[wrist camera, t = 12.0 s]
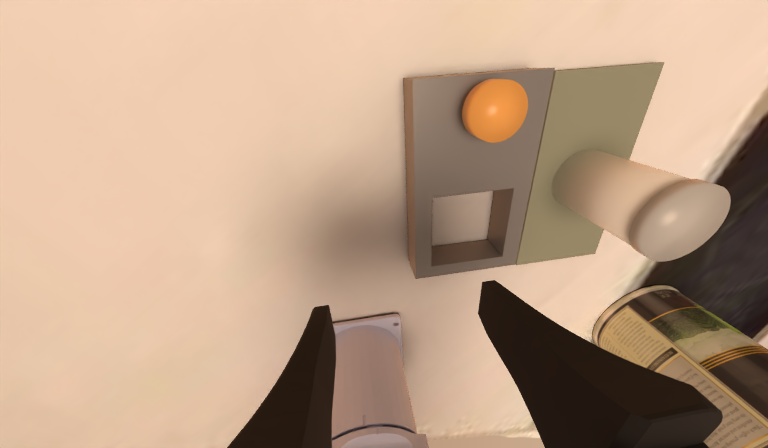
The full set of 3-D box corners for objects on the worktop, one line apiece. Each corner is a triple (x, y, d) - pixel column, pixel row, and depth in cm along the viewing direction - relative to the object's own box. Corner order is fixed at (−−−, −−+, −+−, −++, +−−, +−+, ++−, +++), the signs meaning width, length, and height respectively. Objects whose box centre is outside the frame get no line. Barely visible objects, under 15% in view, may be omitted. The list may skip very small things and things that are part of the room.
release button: (490, 128, 18) (522, 139, 15) (446, 132, 18) (468, 145, 15) (496, 76, 17) (533, 76, 14) (448, 79, 16) (473, 82, 13)
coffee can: (664, 267, 28) (910, 415, 16) (689, 312, 33) (898, 455, 21) (576, 326, 31) (730, 491, 19) (609, 360, 35) (753, 512, 23)
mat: (589, 249, 26) (594, 253, 25) (512, 261, 25) (516, 265, 25) (655, 62, 19) (664, 62, 18) (549, 71, 18) (555, 71, 17)
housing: (499, 246, 24) (515, 264, 22) (408, 259, 23) (415, 278, 21) (528, 68, 18) (554, 67, 15) (403, 78, 17) (412, 79, 15)
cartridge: (596, 203, 23) (700, 257, 16) (544, 208, 22) (628, 265, 16) (618, 146, 20) (749, 181, 14) (560, 149, 20) (667, 188, 13)
